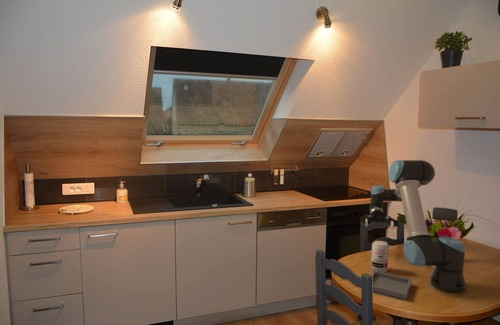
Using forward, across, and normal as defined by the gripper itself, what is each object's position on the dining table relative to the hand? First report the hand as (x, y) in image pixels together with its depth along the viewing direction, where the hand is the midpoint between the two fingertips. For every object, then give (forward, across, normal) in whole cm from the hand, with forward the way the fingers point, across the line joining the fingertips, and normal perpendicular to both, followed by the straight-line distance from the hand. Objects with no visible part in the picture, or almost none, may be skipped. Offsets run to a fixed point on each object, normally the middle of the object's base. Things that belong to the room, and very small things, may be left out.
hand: (379, 225), depth 202 cm
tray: (+30, -3, -21) cm, 37 cm away
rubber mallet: (-16, -35, -22) cm, 45 cm away
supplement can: (+10, 0, -21) cm, 24 cm away
